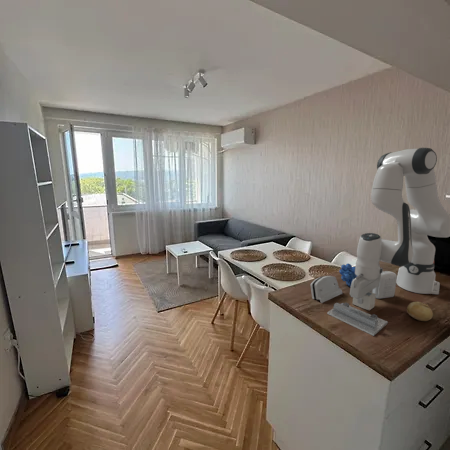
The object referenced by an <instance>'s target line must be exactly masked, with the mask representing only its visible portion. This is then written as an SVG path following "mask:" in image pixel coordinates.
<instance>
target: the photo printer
mask: <svg viewBox="0 0 450 450" xmlns="http://www.w3.org/2000/svg"><path fill="white" fill-rule="evenodd" d="M397 276H398V274H397V273H395V272H393V271H388V270H385V271H384V270H383V272H382V273H381V278H380V283H379V285H378V286H377V287H376V288H374V289H373V290H372V293H374V294H376V296H375V299H387V298H394V297H395V292H396V287H397V283H396V280H397Z"/></svg>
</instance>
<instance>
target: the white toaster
mask: <svg viewBox="0 0 450 450" xmlns="http://www.w3.org/2000/svg"><path fill="white" fill-rule="evenodd" d="M310 291H311V298H312V299H313V300H315V299H316V301H317V300H318V301H320V303H321V304H323V303H325V302H327V301H329V300H331V299H333V298H335V297H338V296H340V295H343V291H342V289H341V288H340V286H339V282H338V280H337V277H336V276H334V275H322V276H319V277H317V278H315V279H314V280H313V281H312V282H311V283H310Z"/></svg>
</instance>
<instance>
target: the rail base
mask: <svg viewBox="0 0 450 450" xmlns="http://www.w3.org/2000/svg"><path fill="white" fill-rule="evenodd" d="M327 315H329V316H331V317H333V318H335V319H337V320H339V321H341V322H344V323H346V324H347V325H350V326H352V327H353V328H356V329H358V330H360V331H362V332H363V333H367V334H368V335H371V336H373V337H374V336H375V335H377V334H378V333H379V332H380V331H381V330H382V329H383V328H384V327H385V326H386V325H388V323H389V322H388V321H387V320H385V319H382V318H380V317H378V315H377V314H375V313H372V314H370V313H367V312H365V311H363V310H360V309H358V308H356V307H353V306H351V305H350V303H348V302H342V303H340V302H336V303H334V304H333V308H332V309H330V310H329V311H327Z"/></svg>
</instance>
